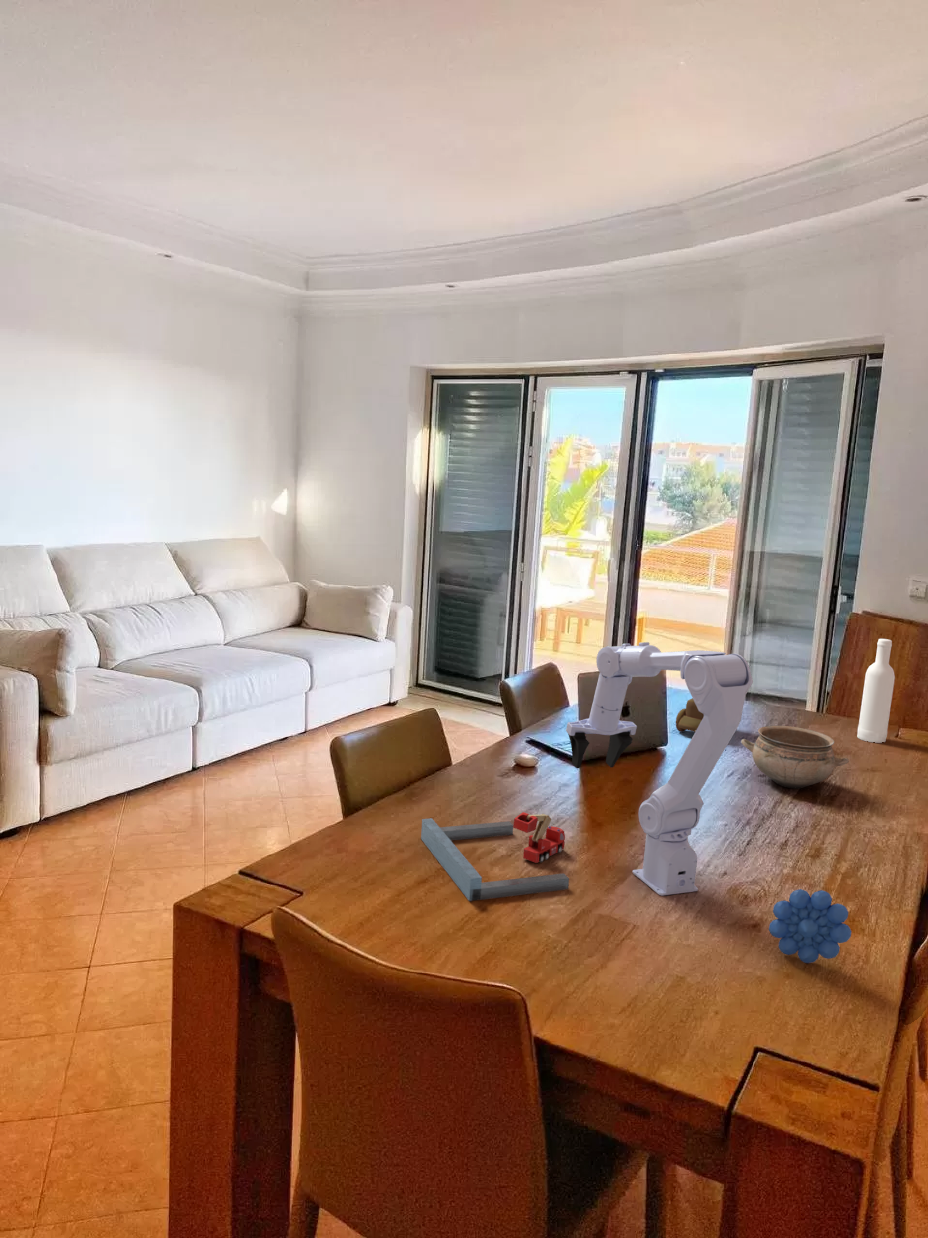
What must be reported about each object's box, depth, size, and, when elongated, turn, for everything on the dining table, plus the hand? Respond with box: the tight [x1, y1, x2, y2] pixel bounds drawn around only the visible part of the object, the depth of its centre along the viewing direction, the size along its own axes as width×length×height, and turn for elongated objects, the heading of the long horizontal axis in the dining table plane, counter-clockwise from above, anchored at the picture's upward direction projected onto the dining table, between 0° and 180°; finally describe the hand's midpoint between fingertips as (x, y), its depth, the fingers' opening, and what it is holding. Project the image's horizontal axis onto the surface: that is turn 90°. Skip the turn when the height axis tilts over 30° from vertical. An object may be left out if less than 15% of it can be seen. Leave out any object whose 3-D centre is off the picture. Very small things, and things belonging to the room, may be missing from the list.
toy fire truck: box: [512, 811, 566, 864], centre depth 167 cm, size 3×14×10 cm, turn 141°
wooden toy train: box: [675, 698, 704, 733], centre depth 260 cm, size 20×11×17 cm, turn 139°
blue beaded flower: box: [768, 888, 852, 964], centre depth 136 cm, size 12×7×12 cm, turn 56°
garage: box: [420, 817, 570, 902], centre depth 164 cm, size 26×18×4 cm
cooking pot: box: [740, 725, 850, 789], centre depth 218 cm, size 25×19×12 cm
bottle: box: [856, 638, 896, 744], centre depth 262 cm, size 8×8×30 cm
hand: (592, 765), depth 178 cm, fingers open, 7 cm apart
